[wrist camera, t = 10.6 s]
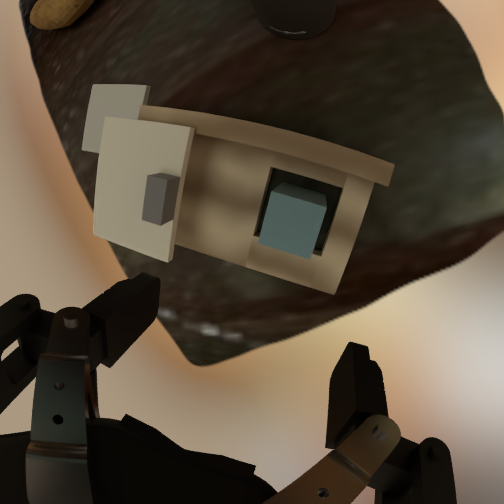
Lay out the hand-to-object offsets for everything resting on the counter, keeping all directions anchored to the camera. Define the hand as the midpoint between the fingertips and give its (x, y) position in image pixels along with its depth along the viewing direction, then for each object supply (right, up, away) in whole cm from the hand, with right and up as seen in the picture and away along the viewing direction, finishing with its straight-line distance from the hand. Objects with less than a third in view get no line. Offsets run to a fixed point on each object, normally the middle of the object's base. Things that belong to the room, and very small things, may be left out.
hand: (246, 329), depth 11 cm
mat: (-19, +21, +23) cm, 37 cm away
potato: (-28, +44, +18) cm, 55 cm away
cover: (-11, +10, +16) cm, 22 cm away
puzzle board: (+1, +9, +23) cm, 25 cm away
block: (+5, +8, +22) cm, 24 cm away
